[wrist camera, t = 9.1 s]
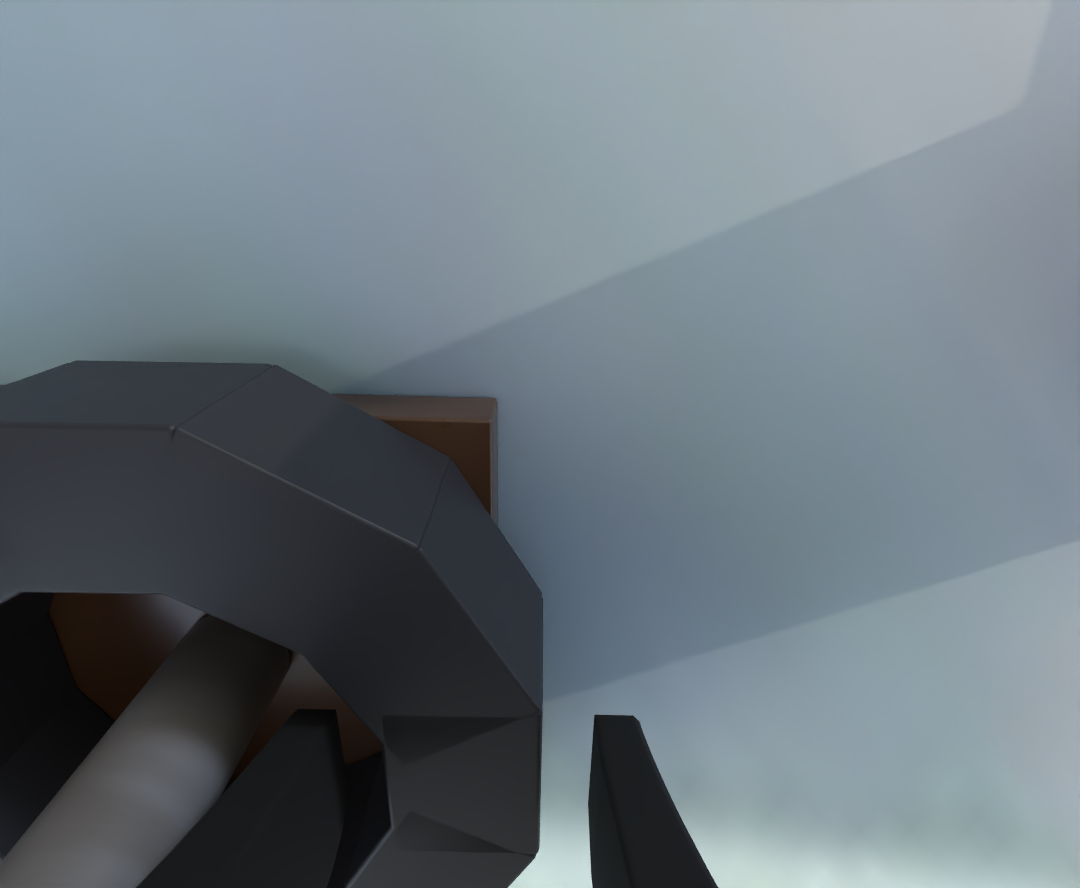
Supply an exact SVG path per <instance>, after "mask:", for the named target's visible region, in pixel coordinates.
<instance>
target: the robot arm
mask: <svg viewBox="0 0 1080 888" xmlns="http://www.w3.org/2000/svg"><path fill="white" fill-rule="evenodd" d="M349 800H350V795H349V789H348V782H347V776H346V770H345V763H344V757H343V751H342V744H341V738H340V731H339V725H338V719H337V712H336V709H297V710H296V711H295V712H294V713H292V714H291V716H290V717H289V718H288V719H287V720H286V722H285V723H284V724H283V725H282V726H281V727H280V729H279V730H278V731H277V732H276V733H275V734H274V736H273V737H272V738H271V739H270V740H269V742H268V743H267V744H266V745H265V746H264V747H263V749H262V750H261V751H260V752H259V753H258V755H257V756H256V757H255V758H254V759H253V760H252V762H251V763H250V764H249V765H248V766H247V767H246V768H245V770H244V771H243V772H242V773H241V774H240V775H239V776H238V778H237V779H236V780H235V781H234V782H233V783H232V785H231V786H230V787H229V788H228V789H227V790H226V791H225V793H224V794H223V795H222V796H221V797H220V798H219V799H218V800H217V801H216V803H215V804H214V805H213V806H212V807H211V808H210V809H209V810H208V811H207V812H206V814H205V815H204V816H203V817H202V818H201V819H200V820H199V821H198V822H197V823H196V825H195V826H194V827H193V828H192V829H191V830H190V831H189V832H188V833H187V834H186V836H185V837H184V838H183V839H182V840H181V841H180V842H179V843H178V844H177V845H176V846H175V848H174V849H173V850H172V851H171V852H170V853H169V854H168V855H167V856H166V857H165V858H164V859H163V860H162V861H161V862H160V863H159V864H158V865H157V866H156V867H155V868H154V869H153V870H152V872H151V873H150V874H149V875H148V876H147V877H146V878H145V879H144V880H143V881H142V882H141V883H140V884H139V885H138V886H137V887H136V888H327V885H328V882H329V879H330V876H331V873H332V870H333V866H334V862H335V858H336V854H337V850H338V846H339V842H340V838H341V834H342V830H343V826H344V822H345V817H346V813H347V809H348V805H349ZM588 809H589V833H590V855H591V875H592V884H593V888H718V887H717V885H716V883H715V881H714V879H713V878H712V876H711V874H710V872H709V870H708V869H707V867H706V865H705V863H704V861H703V859H702V857H701V855H700V853H699V852H698V850H697V848H696V846H695V844H694V842H693V840H692V838H691V836H690V834H689V833H688V831H687V829H686V827H685V825H684V823H683V821H682V819H681V817H680V815H679V813H678V811H677V809H676V807H675V805H674V803H673V801H672V799H671V796H670V794H669V792H668V790H667V788H666V786H665V784H664V781H663V779H662V777H661V775H660V773H659V770H658V768H657V766H656V763H655V761H654V759H653V756H652V754H651V752H650V749H649V747H648V744H647V742H646V739H645V736H644V734H643V731H642V728H641V725H640V722H639V721H638V720H637V719H636V718H635V717H634V716H626V715H595V716H594V730H593V744H592V758H591V772H590V786H589V800H588Z"/></svg>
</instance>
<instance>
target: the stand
mask: <svg viewBox="0 0 1080 888" xmlns="http://www.w3.org/2000/svg"><path fill="white" fill-rule="evenodd" d="M2 386H5V385H0V387H2ZM332 395H334V396H336V397H338V398H340V399H341V400H343V401H345V402H347V403H349V404H351V405H353V406H355V407H357V408H358V409H360V410H362V411H364V412H366V413H368V414H370V415H372V416H374V417H375V418H377V419H379V420H381V421H383V422H385V423H387V424H389V425H390V426H392V427H394V428H396V429H398V430H400V431H402V432H404V433H406V434H407V435H409V436H411V437H413V438H415V439H417V440H419V441H421V442H422V443H424V444H426V445H428V446H430V447H432V448H434V449H436V450H438V451H439V452H441V453H443V454H445V455H447V456H449V457H450V460H451V459H452V460H453V461H454V463H455V464H456V466H457V467H458V469H459V470H460V472H461V473H462V475H463V476H464V478H465V479H466V481H467V482H468V484H469V485H470V486H471V488H472V489H473V491H474V492H475V494H476V495H477V497H478V498H479V500H480V501H481V503H482V504H483V506H484V507H485V509H486V510H487V512H488V513H489V515H490V516H491V518H492V519H493V521H494V522H495V524H496V525H497V527H498V432H497V399H495V398H474V397H435V396H397V395H359V394H332ZM48 614H49V616H50V619H51V622H52V624H53V627H54V630H55V632H56V635H57V638H58V640H59V643H60V645H61V648H62V651H63V653H64V656H65V659H66V661H67V664H68V667H69V669H70V672H71V675H72V677H73V680H74V683H75V685H76V687H77V688H78V689H79V690H80V691H81V692H82V693H83V694H84V695H86V696H87V697H88V698H89V699H90V700H91V701H92V702H93V703H95V704H96V705H97V706H98V707H99V708H100V709H101V710H102V711H104V712H105V713H106V714H107V715H108V716H109V717H110V718H111V719H112V720H114V721H115V722H114V724H113V725H112V726H111V727H110V728H109V730H108V731H107V732H106V733H105V735H104V736H103V737H102V738H101V739H100V741H99V742H98V743H97V744H96V746H95V747H94V748H93V749H92V751H91V752H90V753H89V754H88V755H87V757H86V758H85V759H84V760H83V762H82V763H81V764H80V765H79V767H78V768H77V769H76V770H75V771H74V773H73V774H72V775H71V776H70V778H69V779H68V780H67V781H66V783H65V784H64V785H63V786H62V787H61V789H60V790H59V791H58V792H57V794H56V795H55V796H54V797H53V798H52V800H51V801H50V802H49V803H48V805H47V806H46V807H45V808H44V810H43V811H42V812H41V813H40V814H39V816H38V817H37V818H36V819H35V821H34V822H33V823H32V824H31V826H30V827H29V828H28V829H27V830H26V832H25V833H24V834H23V835H22V837H21V838H20V839H19V840H18V842H17V843H16V844H15V845H14V846H13V848H12V849H11V850H10V851H9V853H8V854H7V855H6V856H5V857H4V859H3V860H2V861H1V862H0V888H136V887H137V886H138V885H139V884H140V883H141V882H142V881H143V880H144V879H145V878H146V877H147V876H148V875H149V874H150V873H151V872H152V870H153V869H154V868H155V867H156V866H157V865H158V864H159V863H160V862H161V861H162V860H163V859H164V858H165V857H166V856H167V855H168V854H169V853H170V852H171V851H172V850H173V849H174V848H175V846H176V845H177V844H178V843H179V842H180V841H181V840H182V839H183V838H184V837H185V836H186V834H187V833H188V832H189V831H190V830H191V829H192V828H193V827H194V826H195V825H196V823H197V822H198V821H199V820H200V819H201V818H202V817H203V816H204V815H205V814H206V812H207V811H208V810H209V809H210V808H211V807H212V806H213V805H214V804H215V803H216V801H217V800H218V799H219V798H220V797H221V795H222V793H223V791H224V789H225V787H226V785H227V784H228V782H229V780H236V779H237V778H238V776H239V775H240V774H241V773H242V772H243V771H244V770H245V768H246V767H247V766H248V765H249V764H250V763H251V762H252V760H253V759H254V758H255V757H256V756H257V755H258V753H259V752H260V751H261V750H262V749H263V747H264V746H265V745H266V744H267V743H268V742H269V740H270V739H271V738H272V737H273V736H274V734H275V733H276V732H277V731H278V730H279V729H280V727H281V726H282V725H283V724H284V723H285V722H286V720H287V719H288V718H289V717H290V716H291V714H292V713H294V712H295V711H296V710H297V709H336V712H337V719H338V725H339V731H340V738H341V744H342V751H343V757H344V763H345V767H347V766H349V765H351V764H354V763H356V762H359V761H361V760H363V759H366V758H368V757H370V756H373V755H375V754H378V753H380V752H382V747H381V742H380V741H379V740H378V739H377V737H376V736H375V735H374V734H373V733H372V732H371V731H370V730H369V729H368V727H367V726H366V725H365V724H364V723H363V722H362V721H361V720H360V719H359V718H358V716H357V715H356V714H355V713H354V712H353V711H352V710H351V709H350V708H349V706H348V705H347V704H346V703H345V702H344V701H343V700H342V699H341V698H340V697H339V695H338V694H337V693H336V692H335V691H334V690H333V689H332V688H331V687H330V685H329V684H328V683H327V682H326V681H325V680H324V679H323V678H322V677H321V675H320V674H319V673H318V672H317V671H316V670H315V669H314V668H313V667H312V666H311V664H310V663H309V662H308V661H307V660H306V659H305V658H304V657H303V656H302V654H300V653H297V652H295V651H293V650H290V649H288V648H286V647H283V646H281V645H279V644H277V643H274V642H272V641H270V640H267V639H265V638H263V637H260V636H258V635H256V634H254V633H251V632H249V631H247V630H244V629H242V628H240V627H237V626H235V625H233V624H231V623H228V622H226V621H224V620H221V619H219V618H217V617H214V616H212V615H210V614H208V613H205V612H203V611H201V610H198V609H196V608H194V607H191V606H189V605H187V604H185V603H182V602H180V601H178V600H175V599H173V598H171V597H168V596H166V595H161V594H102V593H54V595H53V598H52V601H51V604H50V607H49V610H48Z"/></svg>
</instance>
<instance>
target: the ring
mask: <svg viewBox="0 0 1080 888" xmlns="http://www.w3.org/2000/svg"><path fill="white" fill-rule="evenodd" d="M54 593H102V594H161V595H166V596H168V597H171V598H173V599H175V600H178V601H180V602H182V603H185V604H187V605H189V606H191V607H194V608H196V609H198V610H201V611H203V612H205V613H208V614H210V615H212V616H214V617H217V618H219V619H221V620H224V621H226V622H228V623H231V624H233V625H235V626H237V627H240V628H242V629H244V630H247V631H249V632H251V633H254V634H256V635H258V636H260V637H263V638H265V639H267V640H270V641H272V642H274V643H277V644H279V645H281V646H283V647H286V648H288V649H290V650H293V651H295V652H297V653H300V654H302V656H303V657H304V658H305V659H306V660H307V661H308V662H309V663H310V664H311V666H312V667H313V668H314V669H315V670H316V671H317V672H318V673H319V674H320V675H321V677H322V678H323V679H324V680H325V681H326V682H327V683H328V684H329V685H330V687H331V688H332V689H333V690H334V691H335V692H336V693H337V694H338V695H339V697H340V698H341V699H342V700H343V701H344V702H345V703H346V704H347V705H348V706H349V708H350V709H351V710H352V711H353V712H354V713H355V714H356V715H357V716H358V718H359V719H360V720H361V721H362V722H363V723H364V724H365V725H366V726H367V727H368V729H369V730H370V731H371V732H372V733H373V734H374V735H375V736H376V737H377V739H378V740H379V741H380V742H381V747H382V752H380V753H378V754H375V755H373V756H370V757H368V758H366V759H363V760H361V761H359V762H356V763H354V764H351V765H349V766H347V767H345V770H346V776H347V782H348V789H349V795H350V800H349V805H348V809H347V813H346V817H345V822H344V826H343V830H342V834H341V838H340V842H339V846H338V850H337V854H336V858H335V862H334V866H333V870H332V873H331V876H330V879H329V882H328V885H327V888H508V887H509V886H510V884H511V883H512V882H513V881H514V880H515V879H516V878H517V877H518V876H519V875H520V874H521V873H522V871H523V870H524V869H525V868H526V867H527V866H528V865H529V864H530V863H531V862H532V861H533V859H534V858H535V856H536V853H537V852H538V850H539V842H540V798H541V755H542V704H543V598H542V593H541V591H540V589H539V588H538V586H537V585H536V583H535V582H534V580H533V579H532V577H531V576H530V574H529V573H528V571H527V570H526V568H525V567H524V565H523V564H522V562H521V561H520V559H519V558H518V556H517V555H516V553H515V552H514V550H513V549H512V547H511V546H510V545H509V543H508V542H507V540H506V539H505V537H504V536H503V534H502V533H501V531H500V530H499V528H498V527H497V525H496V524H495V522H494V521H493V519H492V518H491V516H490V515H489V513H488V512H487V510H486V509H485V507H484V506H483V504H482V503H481V501H480V500H479V498H478V497H477V495H476V494H475V492H474V491H473V489H472V488H471V486H470V485H469V484H468V482H467V481H466V479H465V478H464V476H463V475H462V473H461V472H460V470H459V469H458V467H457V466H456V464H455V463H454V461H453V460H452V459H451V460H450V457H449V456H447V455H445V454H443V453H441V452H439V451H438V450H436V449H434V448H432V447H430V446H428V445H426V444H424V443H422V442H421V441H419V440H417V439H415V438H413V437H411V436H409V435H407V434H406V433H404V432H402V431H400V430H398V429H396V428H394V427H392V426H390V425H389V424H387V423H385V422H383V421H381V420H379V419H377V418H375V417H374V416H372V415H370V414H368V413H366V412H364V411H362V410H360V409H358V408H357V407H355V406H353V405H351V404H349V403H347V402H345V401H343V400H341V399H340V398H338V397H336V396H334V395H332V394H330V393H328V392H326V391H325V390H323V389H321V388H319V387H317V386H315V385H313V384H311V383H309V382H308V381H306V380H304V379H302V378H300V377H298V376H296V375H294V374H293V373H291V372H289V371H287V370H285V369H283V368H281V367H279V366H277V365H273V366H272V365H270V364H250V363H191V362H132V361H74V362H71V363H67V364H64V365H61V366H58V367H55V368H53V369H50V370H47V371H44V372H41V373H38V374H36V375H33V376H30V377H27V378H24V379H22V380H19V381H16V382H13V383H10V384H7V385H5V386H2V387H0V862H1V861H2V860H3V859H4V857H5V856H6V855H7V854H8V853H9V851H10V850H11V849H12V848H13V846H14V845H15V844H16V843H17V842H18V840H19V839H20V838H21V837H22V835H23V834H24V833H25V832H26V830H27V829H28V828H29V827H30V826H31V824H32V823H33V822H34V821H35V819H36V818H37V817H38V816H39V814H40V813H41V812H42V811H43V810H44V808H45V807H46V806H47V805H48V803H49V802H50V801H51V800H52V798H53V797H54V796H55V795H56V794H57V792H58V791H59V790H60V789H61V787H62V786H63V785H64V784H65V783H66V781H67V780H68V779H69V778H70V776H71V775H72V774H73V773H74V771H75V770H76V769H77V768H78V767H79V765H80V764H81V763H82V762H83V760H84V759H85V758H86V757H87V755H88V754H89V753H90V752H91V751H92V749H93V748H94V747H95V746H96V744H97V743H98V742H99V741H100V739H101V738H102V737H103V736H104V735H105V733H106V732H107V731H108V730H109V728H110V727H111V726H112V725H113V724H114V722H115V721H114V720H112V719H111V718H110V717H109V716H108V715H107V714H106V713H105V712H104V711H102V710H101V709H100V708H99V707H98V706H97V705H96V704H95V703H93V702H92V701H91V700H90V699H89V698H88V697H87V696H86V695H84V694H83V693H82V692H81V691H80V690H79V689H78V688H77V687H76V685H75V683H74V680H73V677H72V675H71V672H70V669H69V667H68V664H67V661H66V659H65V656H64V653H63V651H62V648H61V645H60V643H59V640H58V638H57V635H56V632H55V630H54V627H53V624H52V622H51V619H50V616H49V614H48V610H49V607H50V604H51V601H52V598H53V595H54ZM234 781H235V780H229V782H228V784H227V785H226V787H225V789H224V791H223V793H222V795H223V794H224V793H225V791H226V790H227V789H228V788H229V787H230V786H231V785H232V783H233V782H234ZM222 795H221V796H222Z"/></svg>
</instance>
